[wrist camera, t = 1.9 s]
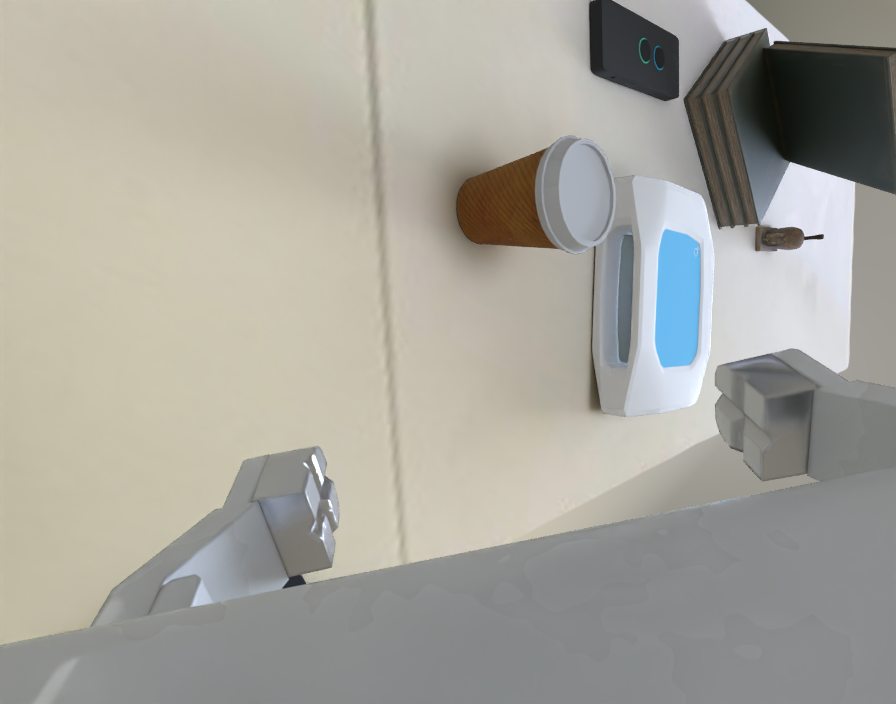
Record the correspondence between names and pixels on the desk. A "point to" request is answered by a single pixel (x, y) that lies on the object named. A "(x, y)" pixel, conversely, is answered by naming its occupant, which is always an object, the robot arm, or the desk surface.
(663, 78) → the smart home device
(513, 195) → the disposable coffee cup
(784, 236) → the figurine
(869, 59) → the stacked dark books
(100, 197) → the desk surface
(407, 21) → the desk surface
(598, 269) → the document scanner
